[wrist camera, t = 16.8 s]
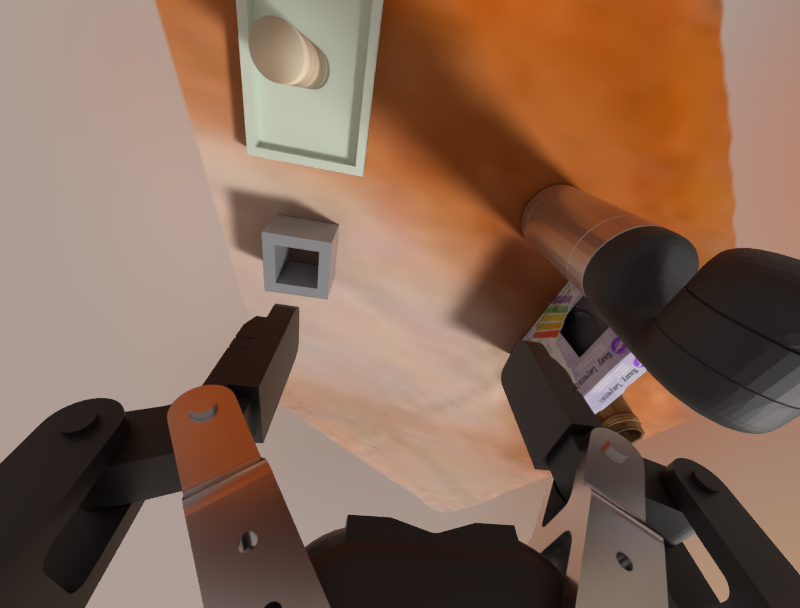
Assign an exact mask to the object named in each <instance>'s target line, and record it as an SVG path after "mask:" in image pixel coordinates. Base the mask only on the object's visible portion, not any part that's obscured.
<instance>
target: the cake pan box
mask: <svg viewBox="0 0 800 608" xmlns="http://www.w3.org/2000/svg"><path fill="white" fill-rule="evenodd" d="M522 340H526V341H533V342H540V343H542V344H543V345H544V346H545V348H546V350H547V351H548V353H549V354H550V356H551V358H554V359H555V360H556V361H557V362H558V363H559V364H560V365H561V366H563V367H564V368H565V369H566V371H567V373H568V374H569V376H570V377H571V379H572V380H573V381H572V382H573V383H575V385H576V386H577V388H578V389H579V392H580V393H581V394H582V395H583V397H584V399H585V400H586V402H587V403H588V405H589V406H590V408H591V409H592V411H593V412H594V414H596V413H597V412H599V411H602V410H603V409H604V408H605V407H607V406H608V405H609V404H610V403H612V402H613V401H614V400H615V399H616V398H618V397H619V396H620V395H621V394H622V393H623V392H624V390H625V389H626V388H627V387H628V386H629V385H630V384H631V383H633V382H634V381H635V380H636V379H637V378H638V377H640V376H641V375H642V374H643V373H645V372H646V371H647V370H646V368H645V367H644V366H643V365H642V364H641V363H640V362H639V361H638V360H637V359H636V357H635V356H634V355H633V354H632V353H631V352H630V350H629V349H628V348H627V347H626V346H625V344H624V343H623V342H622V341H621V340H620V339H619V337H618V336H617V335H616V334H615V333H614V332H613V331H612V329H611V328H610V327H609V326H608V325H607V324H606V323H605V322H604V321H603V320H602V318H601V317H600V316H599V315H598V314H597V313H596V311H595V310H594V308H593V306H592V303H591V302H590V301H589V300H588V299H587V298H586V297H585V296H584V295H583V294H582V293H581V292H580V291H579V290H578V289H577V288H576V287H575V286H574V285H573V284H572V283H571V282H570V281H568V283H567V284H566V285H565V287H564V288H563V289H562V290H561V292H560V293H559V294H558V295H557V296H556V298H555V299H554V300H553V302H552V303H551V304H550V305H549V307H548V308H547V309H546V310H545V311H544V313H543V314H542V315H541V316H540V318H539V319H538V320H537V321H536V323H535V324H534V325H533V326H532V328H531V329H530V330H529V331H528V333H527V334H526V335H525V336H524V338H523V339H522Z"/></svg>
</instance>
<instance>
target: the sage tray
mask: <svg viewBox="0 0 800 608" xmlns="http://www.w3.org/2000/svg"><path fill="white" fill-rule="evenodd" d="M383 4H384V0H236V10H237V23H238V37H239V50H240V64H241V77H242V91H243V104H244V118H245V131H246V145H247V155H252V156H257V157H263V158H268V159H273V160H278V161H284V162H289V163H294V164H299V165H304V166H310V167H315V168H320V169H325V170H331V171H336V172H341V173H346V174H351V175H357V176H362V177H363V174H364V167H365V158H366V150H367V141H368V132H369V124H370V115H371V107H372V98H373V90H374V81H375V73H376V64H377V55H378V47H379V38H380V30H381V21H382V13H383ZM267 15H273V16H277V17H280V18H282V19H284V20H285V21H286V22H288V23H289V24H290V25H291V26H293V27H294V28H295V29H296V30H298V31H299V32H300V33H301V34H303V35H304V36H305V37H306V38H307V39H309V40H310V41H311V42H312V43H314V44H315V45H316V46H317V47H319V48H320V49H321V50H322V51H323V52H324V54H325V55H326V57H327V59H328V62H329V67H330V74H329V78H328V81H327V82H326V84H325V85H324V86H323V87H321V88H320V89H314V90H313V89H307V88H301V87H296V86H290V85H284V84H278V83H274V82H272V81H270V80H268V79H267V78H265V77H264V76H263V75H262V74H261V73H260V72H259V71H258V69H257V68H256V66H255V65H254V63H253V61H252V58H251V55H250V51H249V42H248V40H249V33H250V30H251V28H252V26H253V24H254V23H255V22H256V21H257V20H258V19H259V18H261V17H263V16H267Z"/></svg>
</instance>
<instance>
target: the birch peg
mask: <svg viewBox="0 0 800 608" xmlns="http://www.w3.org/2000/svg"><path fill="white" fill-rule="evenodd" d="M248 42H249V51H250V55H251V58H252V61H253V63H254V65H255V66H256V68H257V69H258V71H259V72H260V73H261V74H262V75H263V76H264V77H265V78H267V79H268V80H270V81H272V82H274V83H278V84H284V85H290V86H296V87H301V88H307V89H313V90H314V89H320V88H321V87H323V86H324V85H325V84H326V82H327V81H328V78H329V74H330V67H329V62H328V59H327V57H326V55H325V54H324V52H323V51H322V50H321V49H320V48H319V47H317V46H316V45H315V44H314V43H312V42H311V41H310V40H309V39H307V38H306V37H305V36H304V35H303V34H301V33H300V32H299V31H298V30H296V29H295V28H294V27H293V26H291V25H290V24H289V23H288V22H286V21H285V20H284V19H282V18H280V17H277V16H273V15H267V16H263V17H261V18H259V19H258V20H257V21H256V22H255V23H254V24H253V26H252V28H251V30H250V33H249V40H248Z"/></svg>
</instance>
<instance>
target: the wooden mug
mask: <svg viewBox="0 0 800 608" xmlns="http://www.w3.org/2000/svg"><path fill="white" fill-rule="evenodd" d="M595 415H596V417H597V418H598V420H599V421H600V423H601V424H602V426H603V428H607V429H610V430H612V431H615V432H617V433H618V434H620V435H622V436H623V437H624V438H626V439H627V440H628V441H629V442H630V443H631V444H633V443H635V442H637V441H638V440H640V439H641V438H642V437H643V435H644V431H643V429H642V427H641V423H640V421H639V419H638V417H637V416H635V415H634V414H633V412H632V411H631V409H630V407H629V406H628V404H627V402H626V401H625V399H624V397H623V395H622V394H621V395H620V396H619V397H618V398H616V399H615V400H614V401H613V402H612V403H610V404H609V405H608V406H607V407H605V408H604V409H603V410H602V411H599V412H597V413H596V414H595Z"/></svg>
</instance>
